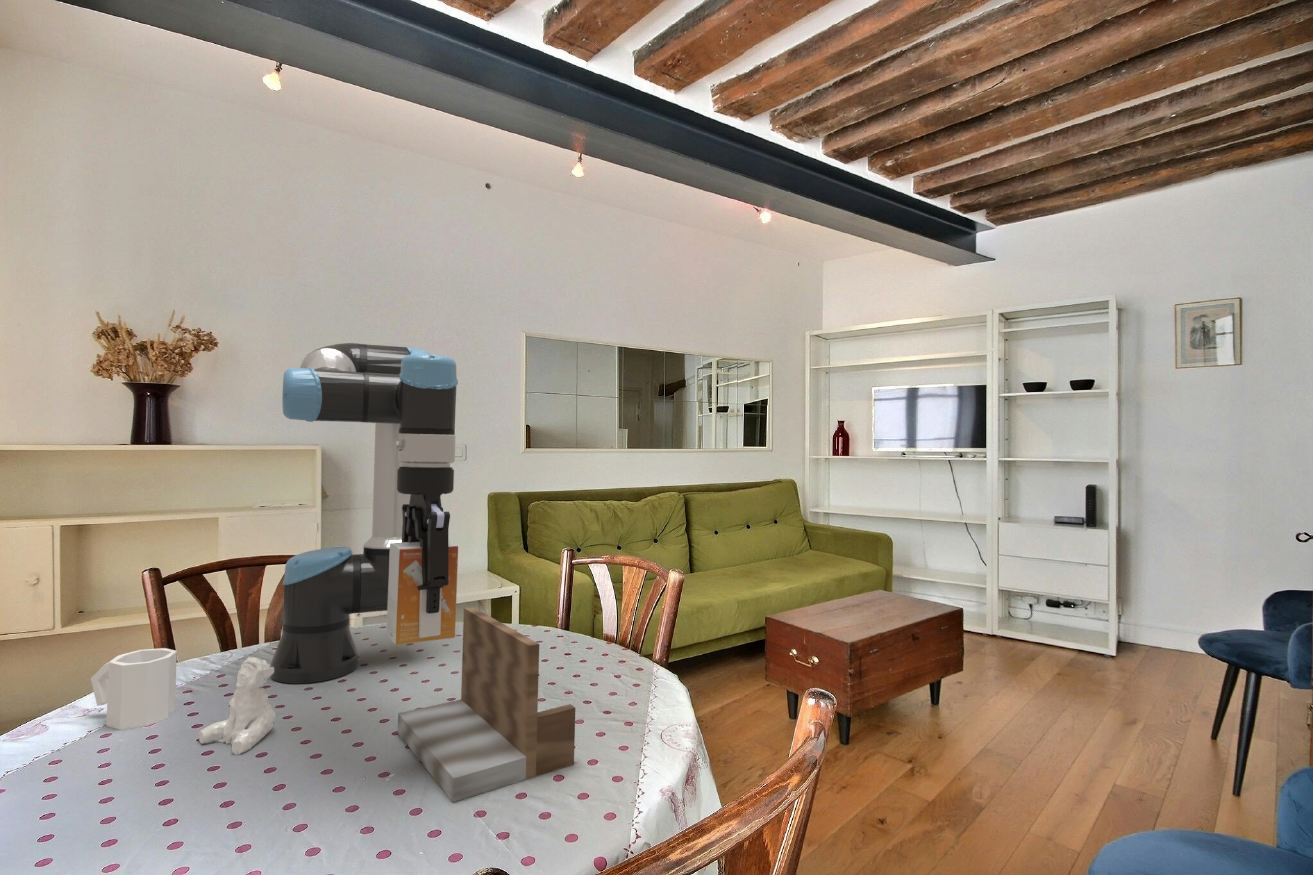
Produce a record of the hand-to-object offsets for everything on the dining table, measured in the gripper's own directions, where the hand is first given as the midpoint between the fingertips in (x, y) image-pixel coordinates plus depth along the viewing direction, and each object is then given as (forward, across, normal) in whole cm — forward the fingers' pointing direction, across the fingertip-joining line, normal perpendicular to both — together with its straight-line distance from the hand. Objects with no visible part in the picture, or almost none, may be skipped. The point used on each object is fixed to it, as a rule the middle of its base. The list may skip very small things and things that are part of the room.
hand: (421, 629), depth 91 cm
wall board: (+19, 0, +9) cm, 21 cm away
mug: (+19, -41, -33) cm, 56 cm away
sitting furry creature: (+19, -23, -19) cm, 35 cm away
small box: (+1, 0, 0) cm, 1 cm away
